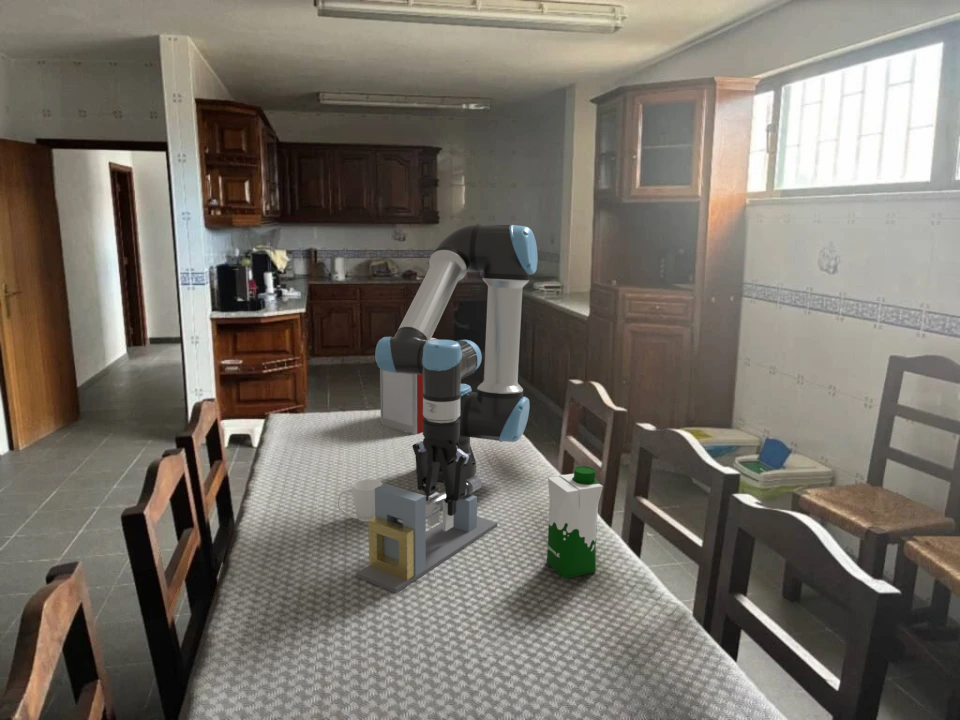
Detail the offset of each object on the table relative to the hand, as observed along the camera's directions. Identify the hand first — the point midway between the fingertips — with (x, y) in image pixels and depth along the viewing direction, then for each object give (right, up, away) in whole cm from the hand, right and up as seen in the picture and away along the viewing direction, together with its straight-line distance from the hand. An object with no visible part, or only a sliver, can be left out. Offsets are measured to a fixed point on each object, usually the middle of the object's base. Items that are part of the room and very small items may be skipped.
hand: (440, 525), depth 147 cm
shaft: (0, +4, -1) cm, 4 cm away
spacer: (-9, -1, -13) cm, 16 cm away
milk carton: (+26, -6, -8) cm, 28 cm away
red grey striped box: (-12, +14, +82) cm, 84 cm away
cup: (-19, -1, +12) cm, 23 cm away
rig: (-2, -4, -1) cm, 5 cm away
